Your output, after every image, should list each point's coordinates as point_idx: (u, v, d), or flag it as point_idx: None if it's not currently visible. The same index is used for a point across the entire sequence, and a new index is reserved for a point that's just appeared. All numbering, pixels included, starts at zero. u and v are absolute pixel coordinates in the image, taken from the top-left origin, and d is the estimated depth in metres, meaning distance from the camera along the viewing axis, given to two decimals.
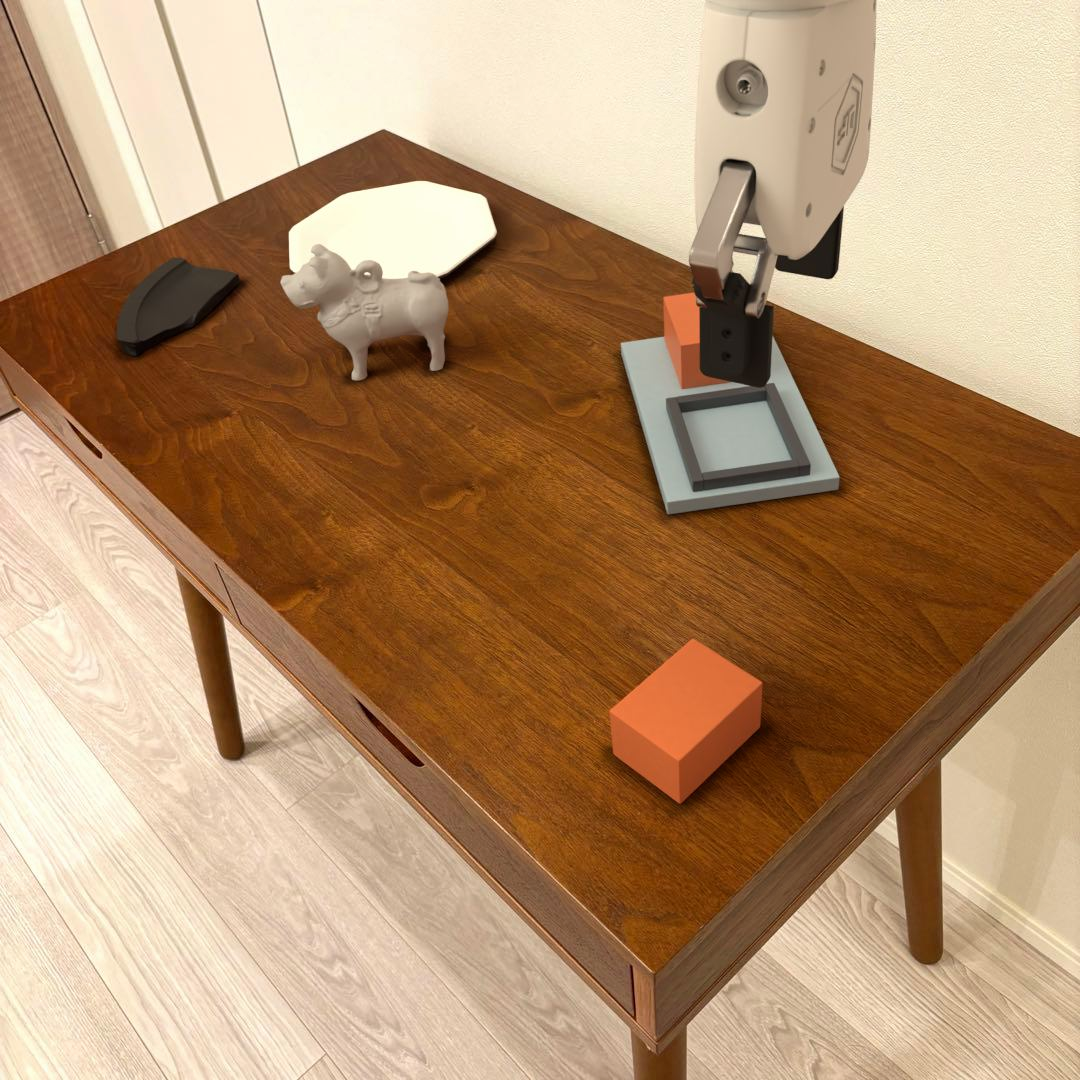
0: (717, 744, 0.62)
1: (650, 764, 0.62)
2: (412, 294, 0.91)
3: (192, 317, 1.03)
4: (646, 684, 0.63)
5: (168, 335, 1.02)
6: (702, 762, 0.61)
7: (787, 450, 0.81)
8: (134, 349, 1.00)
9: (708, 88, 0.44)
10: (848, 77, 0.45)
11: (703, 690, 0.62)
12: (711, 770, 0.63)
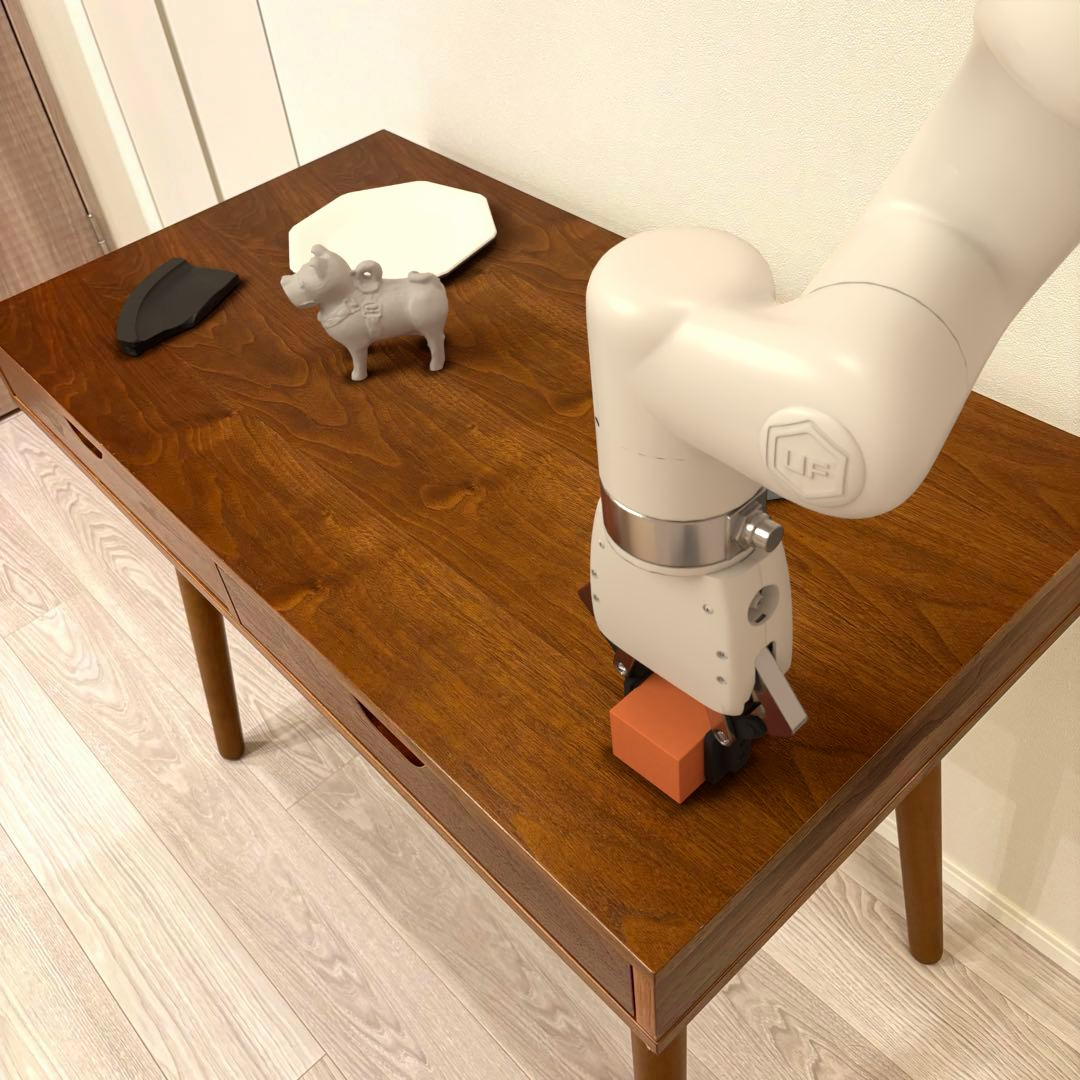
0: None
1: (650, 764, 0.62)
2: (412, 294, 0.91)
3: (192, 317, 1.03)
4: (646, 684, 0.63)
5: (168, 335, 1.02)
6: (702, 762, 0.61)
7: None
8: (134, 349, 1.00)
9: (741, 623, 0.52)
10: None
11: None
12: None
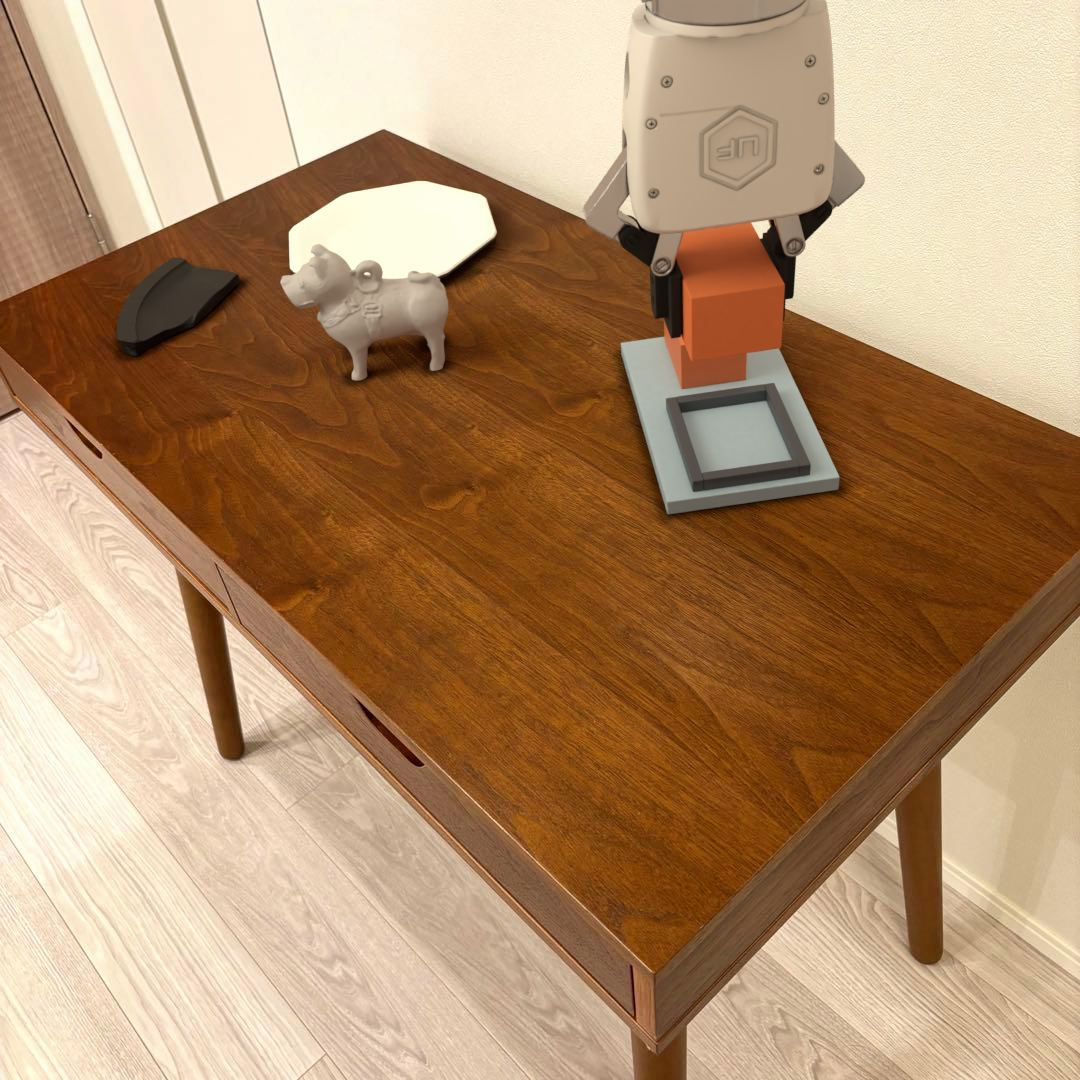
0: None
1: None
2: (412, 294, 0.91)
3: (192, 317, 1.03)
4: (757, 245, 0.63)
5: (168, 335, 1.02)
6: None
7: (787, 450, 0.81)
8: (134, 349, 1.00)
9: None
10: (728, 106, 0.53)
11: (718, 267, 0.61)
12: None
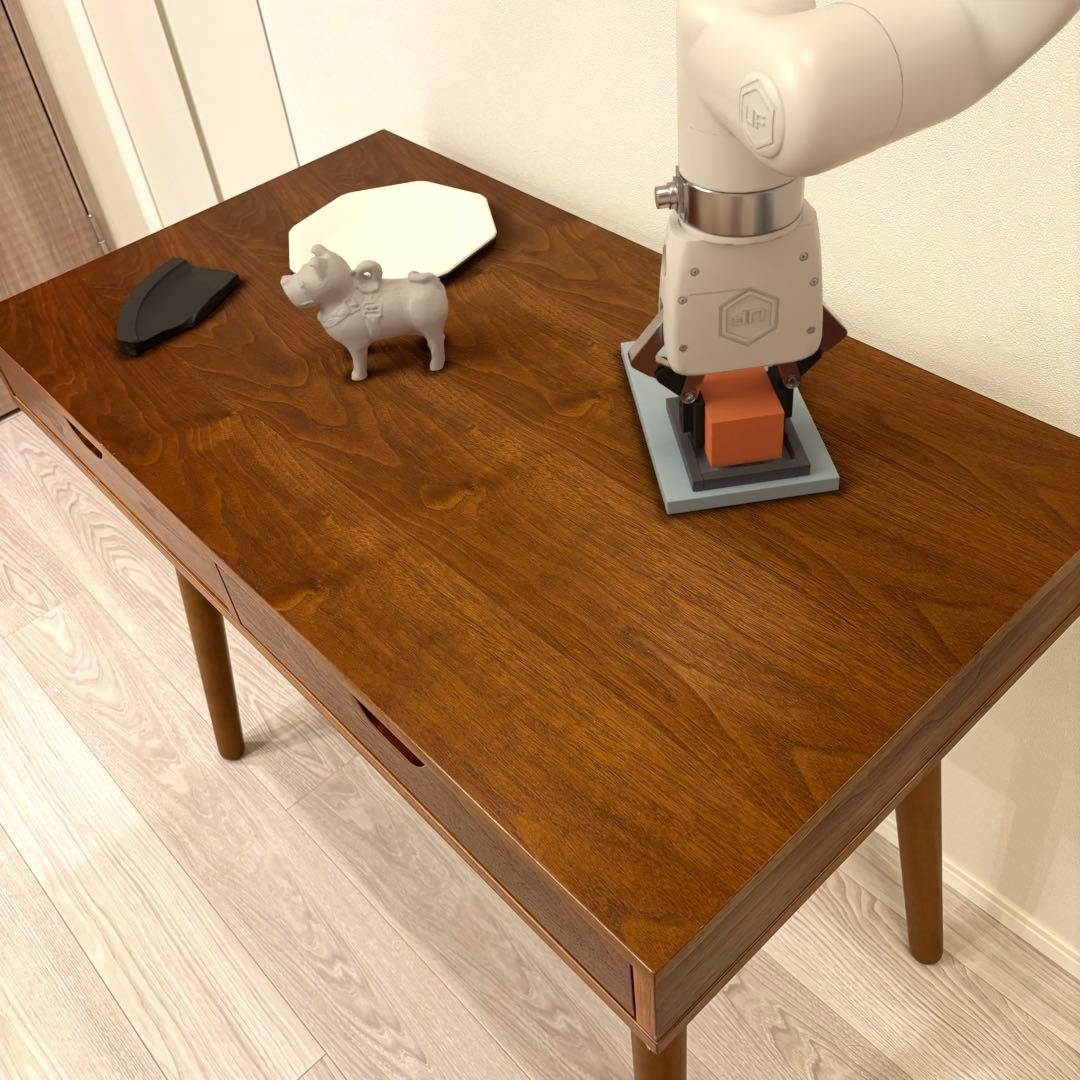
0: None
1: None
2: (412, 294, 0.91)
3: (192, 317, 1.03)
4: (764, 376, 0.80)
5: (168, 335, 1.02)
6: None
7: (787, 450, 0.81)
8: (134, 349, 1.00)
9: None
10: (741, 288, 0.70)
11: (733, 396, 0.78)
12: None
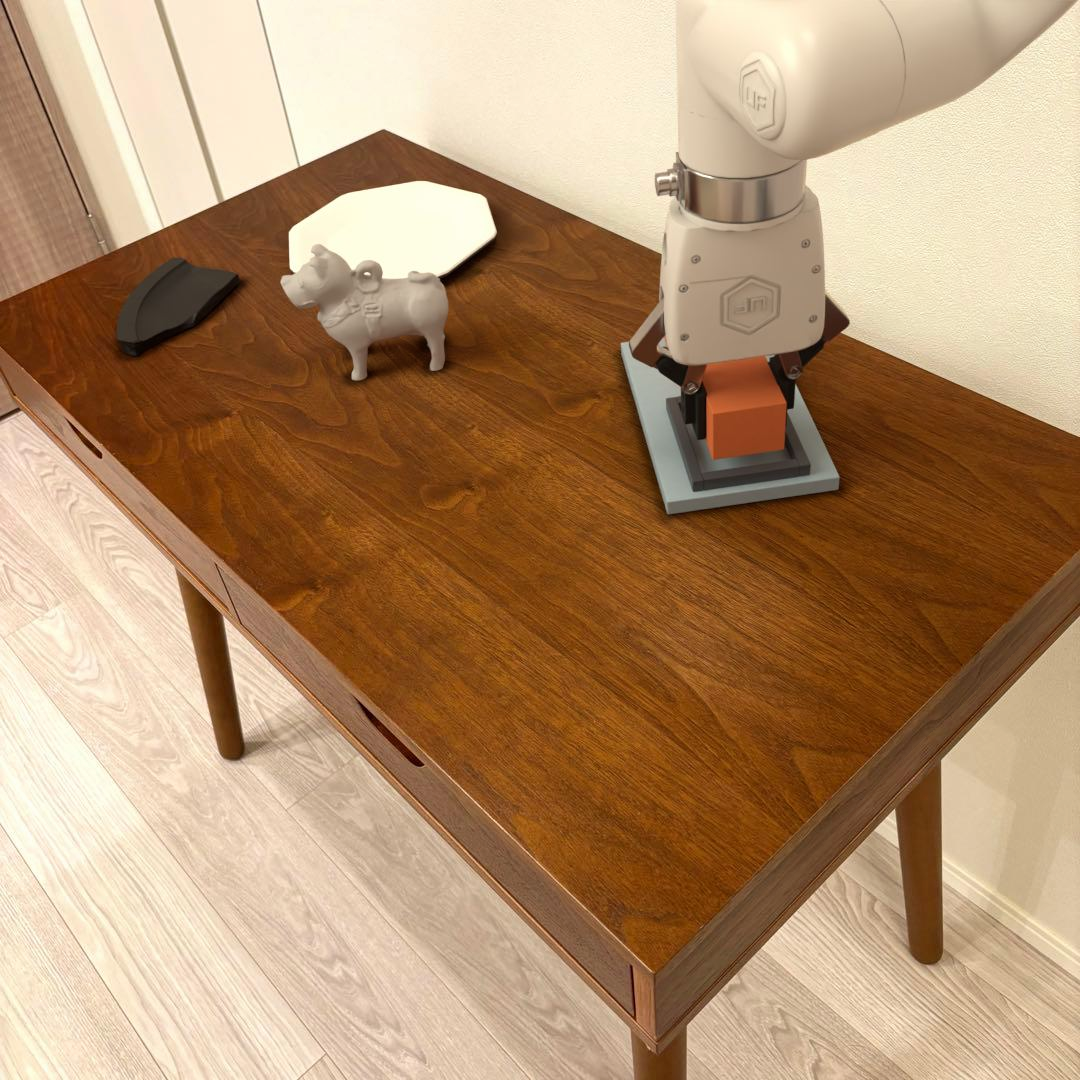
0: None
1: None
2: (412, 294, 0.91)
3: (192, 317, 1.03)
4: (765, 367, 0.79)
5: (168, 335, 1.02)
6: None
7: (787, 450, 0.81)
8: (134, 349, 1.00)
9: (663, 241, 0.72)
10: (742, 276, 0.70)
11: (734, 387, 0.78)
12: None
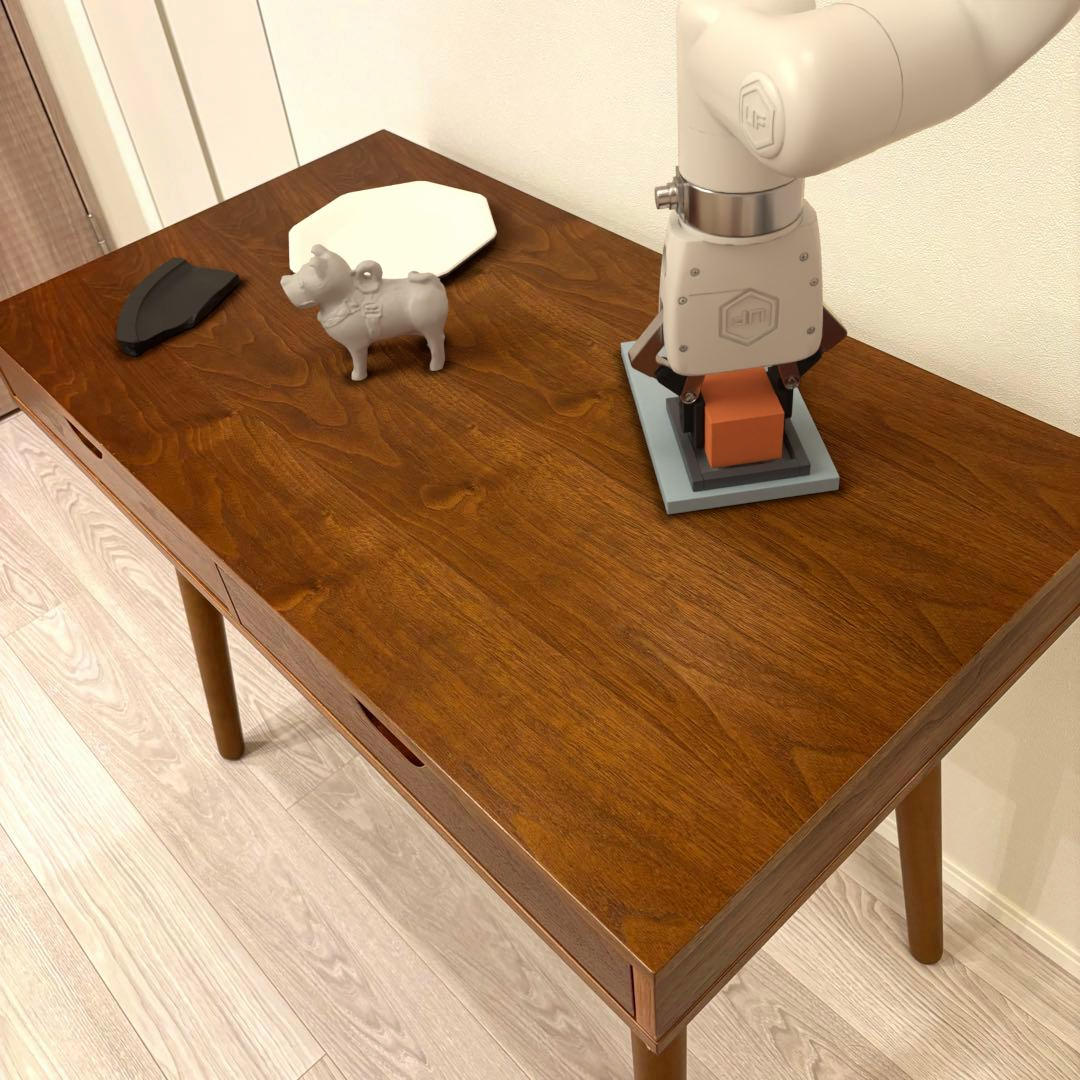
0: None
1: None
2: (412, 294, 0.91)
3: (192, 317, 1.03)
4: (764, 376, 0.80)
5: (168, 335, 1.02)
6: None
7: (787, 450, 0.81)
8: (134, 349, 1.00)
9: None
10: (741, 288, 0.70)
11: (733, 396, 0.78)
12: None
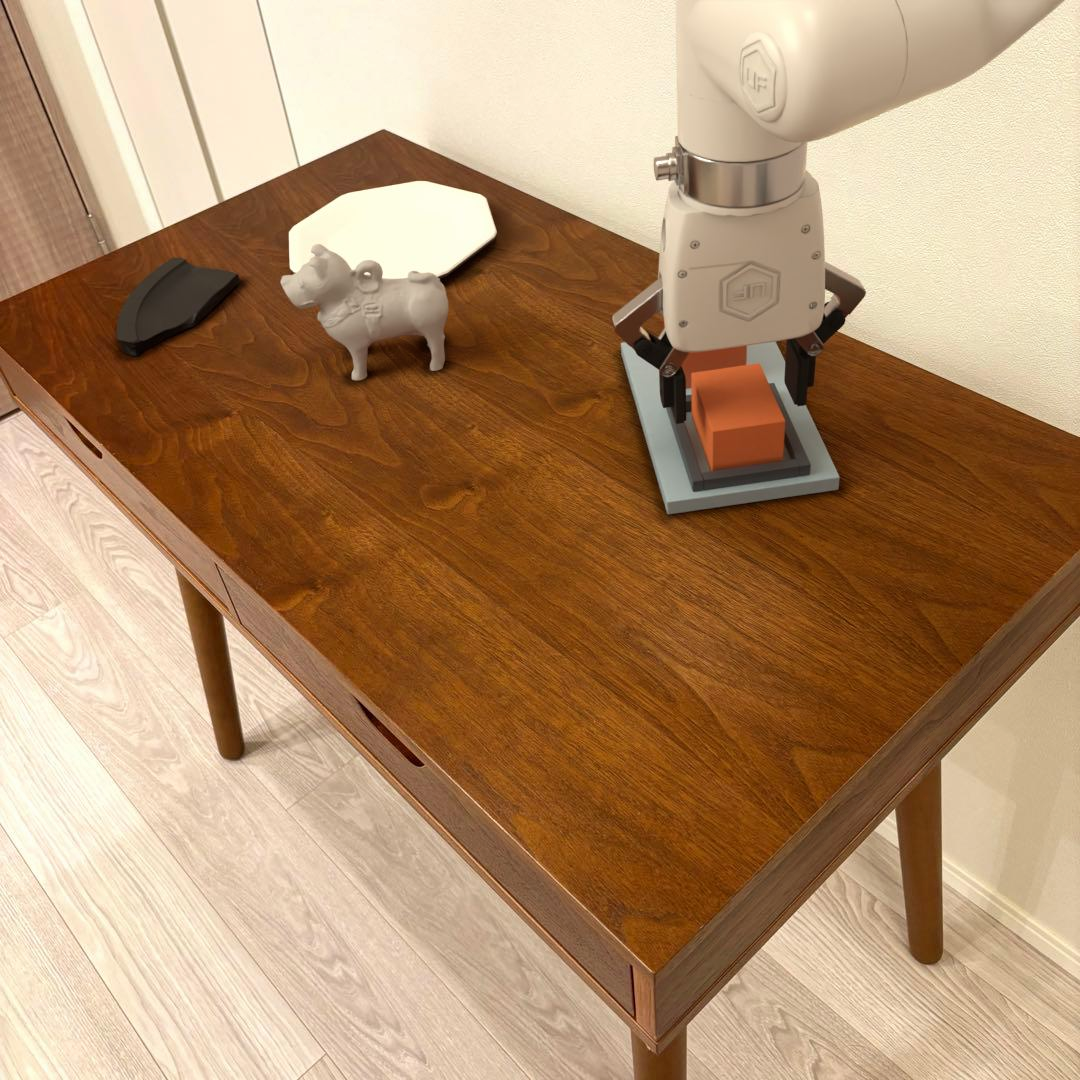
0: (700, 417, 0.81)
1: None
2: (412, 294, 0.91)
3: (192, 317, 1.03)
4: (765, 384, 0.80)
5: (168, 335, 1.02)
6: (696, 410, 0.82)
7: (787, 450, 0.81)
8: (134, 349, 1.00)
9: (662, 227, 0.72)
10: (741, 261, 0.69)
11: (734, 404, 0.79)
12: (699, 434, 0.82)
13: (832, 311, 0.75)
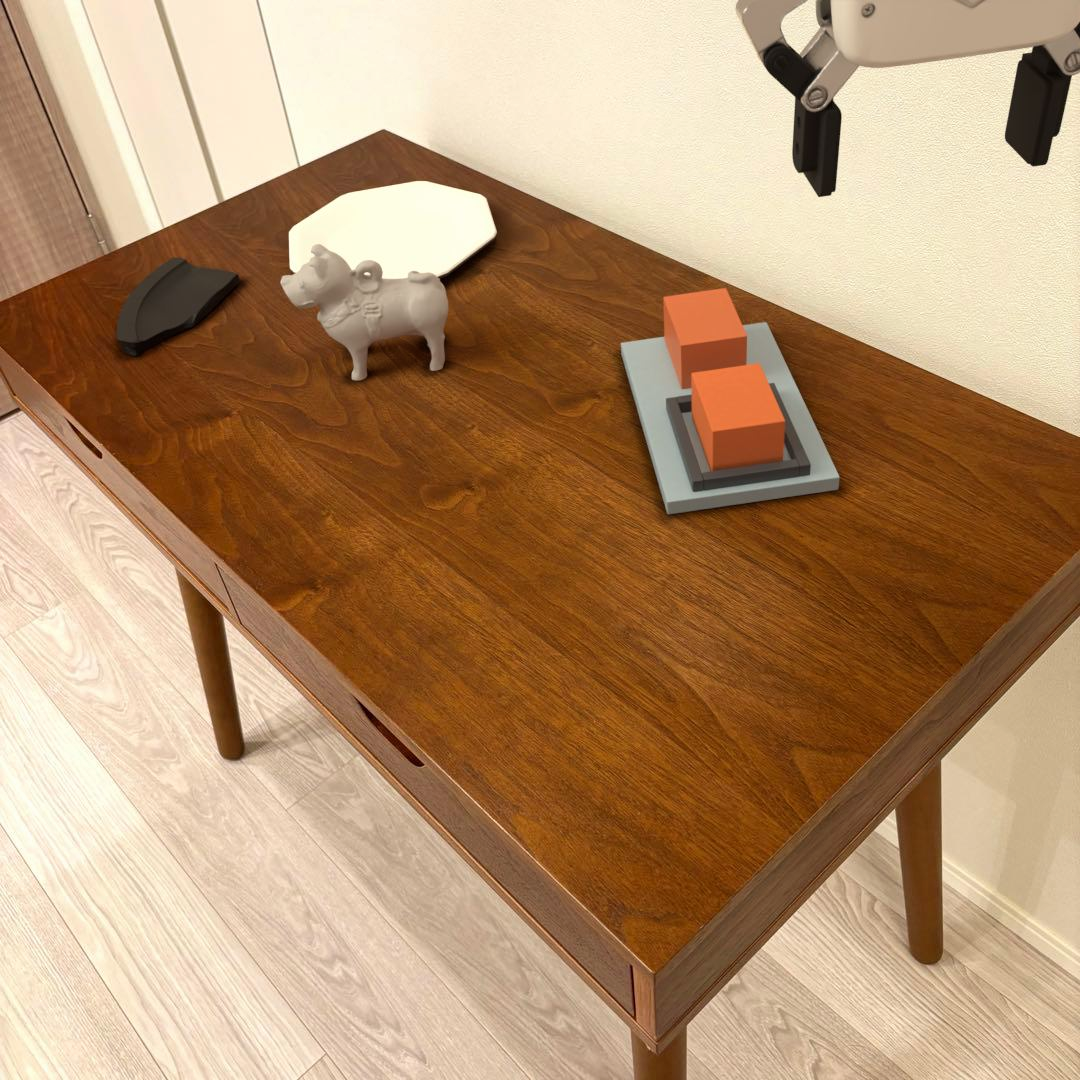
0: (700, 417, 0.81)
1: None
2: (412, 294, 0.91)
3: (192, 317, 1.03)
4: (765, 384, 0.80)
5: (168, 335, 1.02)
6: (696, 410, 0.82)
7: (787, 450, 0.81)
8: (134, 349, 1.00)
9: None
10: None
11: (734, 404, 0.79)
12: (699, 434, 0.82)
13: None
